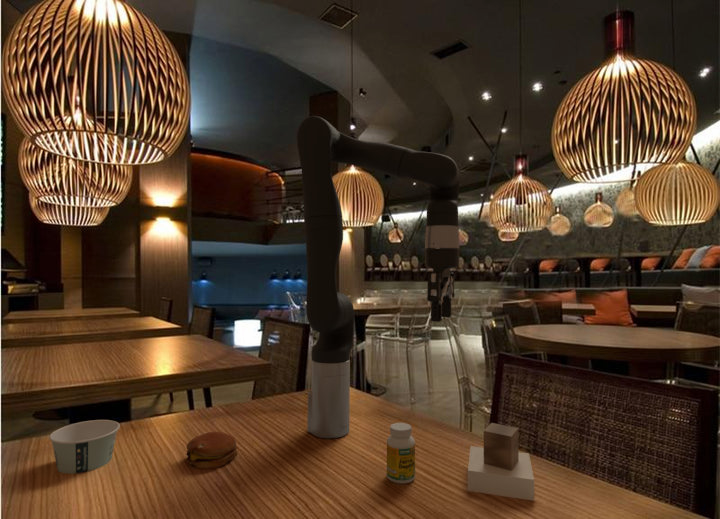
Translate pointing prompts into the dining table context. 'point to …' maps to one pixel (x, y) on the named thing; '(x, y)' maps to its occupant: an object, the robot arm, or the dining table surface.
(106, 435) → the food container
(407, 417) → the dining table surface
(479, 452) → the riser block
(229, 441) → the burger
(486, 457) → the walnut block
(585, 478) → the dining table surface
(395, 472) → the supplement bottle
